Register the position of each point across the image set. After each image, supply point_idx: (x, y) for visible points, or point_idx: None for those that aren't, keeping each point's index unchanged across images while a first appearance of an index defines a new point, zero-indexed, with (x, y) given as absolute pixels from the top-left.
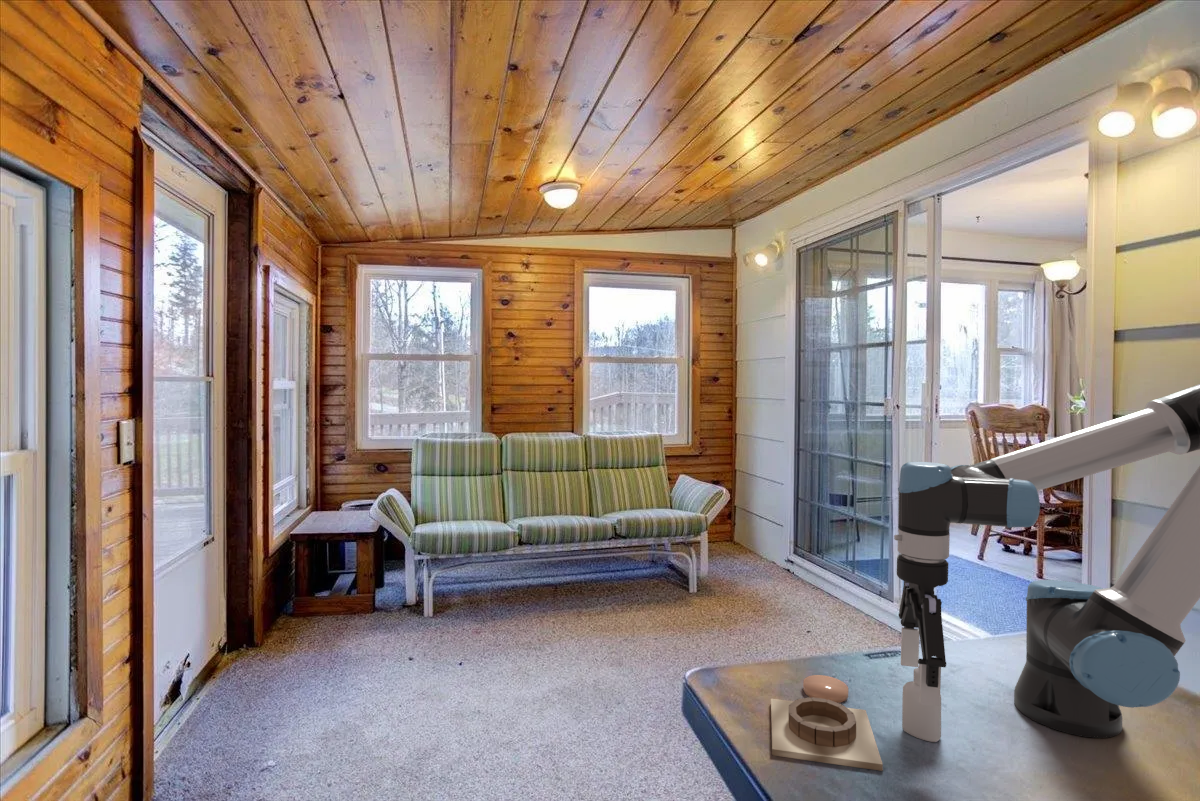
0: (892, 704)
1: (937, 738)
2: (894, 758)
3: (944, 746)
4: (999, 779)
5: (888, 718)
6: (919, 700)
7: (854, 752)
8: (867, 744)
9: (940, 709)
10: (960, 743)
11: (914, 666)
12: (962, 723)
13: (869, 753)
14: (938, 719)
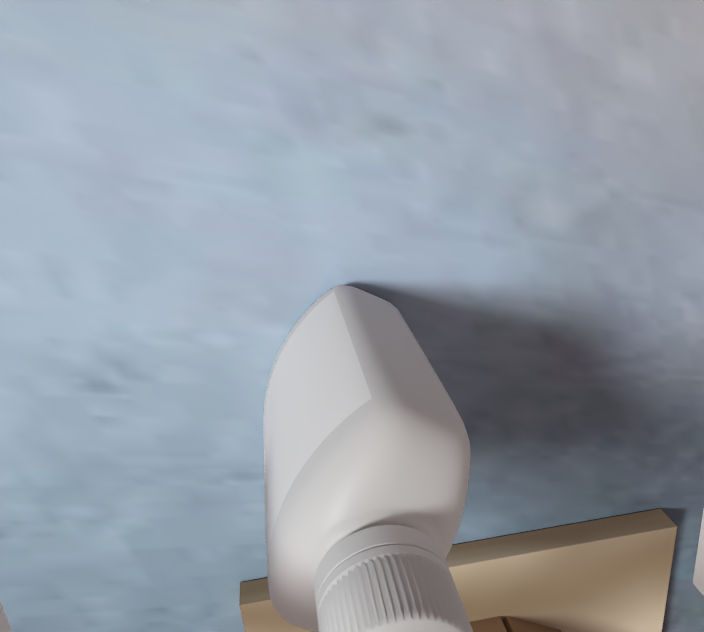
0: (44, 483)
1: (398, 311)
2: (566, 472)
3: (409, 271)
4: (650, 53)
5: (221, 497)
6: (699, 590)
7: (614, 611)
8: (548, 578)
9: (398, 360)
10: (351, 186)
11: (6, 626)
12: (90, 131)
13: (612, 569)
14: (419, 350)
